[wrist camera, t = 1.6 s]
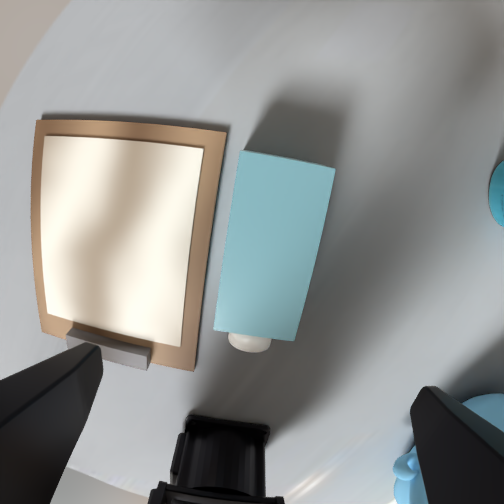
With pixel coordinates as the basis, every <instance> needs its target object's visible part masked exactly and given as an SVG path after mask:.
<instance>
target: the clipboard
mask: <svg viewBox="0 0 504 504" xmlns="http://www.w3.org/2000/svg"><path fill="white" fill-rule="evenodd" d="M226 137H227V133H225V132H218V131H211V130H204V129H196V128H187V127H179V126H169V125H159V124H147V123H134V122H119V121H98V120H36V128H35V137H34V147H33V159H32V177H31V238H32V256H33V268H34V279H35V288H36V296H37V304H38V311H39V317H40V323H41V329H42V332H44V333H47V334H50V335H53V336H56V337H59V338H62V339H65V340H67V347H68V349H70V348H73V347H75V346H77V345H79V344H81V343H84V342H90V343H94V344H97V345H99V346H100V348H101V353H102V359H104V360H107V361H111V362H114V363H118V364H122V365H126V366H130V367H134V368H138V369H142V370H146V371H147V369H148V367H149V364H150V363H154V364H158V365H163V366H168V367H172V368H177V369H182V370H187V371H193V372H194V369H195V360H196V351H197V341H198V332H199V324H200V315H201V307H202V298H203V290H204V282H205V275H206V267H207V260H208V252H209V245H210V238H211V231H212V224H213V217H214V211H215V204H216V197H217V191H218V185H219V178H220V172H221V166H222V160H223V154H224V148H225V142H226Z"/></svg>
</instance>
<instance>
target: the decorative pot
mask: <svg viewBox="0 0 504 504" xmlns="http://www.w3.org/2000/svg"><path fill="white" fill-rule="evenodd" d="M461 404H463V405H464V406H466V407H467V408H469V409H470V410H472V411H473V412H475V413H476V414H478V415H479V416H481V417H482V418H484V419H485V420H487V421H488V422H490V423H491V424H493V425H494V426H496V427H497V428H499V429H500V430H502V431H503V432H504V394H500V393H495V394H486V395H481V396H476V397H474V398H471V399H469V400H467V401H465V402H463V403H461ZM393 472H394V474H395V475H396V476H397V478H396V481H395V485H394V496H395V499H396V501H397V503H398V504H428V500H427V496H426V491H425V487H424V482H423V478H422V474H421V470H420V466H419V462H418V457H417V452H416V446H414V447H413V448H412V450H411V451H410V452H409V453H407V454H405V455H403V456H401V457H399V458H398V459H397V460H396V461H395V464H394V466H393Z"/></svg>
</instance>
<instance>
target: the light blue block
mask: <svg viewBox="0 0 504 504" xmlns="http://www.w3.org/2000/svg"><path fill="white" fill-rule="evenodd" d="M335 170H336V169H334V168H331V167H328V166H325V165H321V164H318V163H313V162H308V161H304V160H299V159H293V158H288V157H283V156H278V155H272V154H266V153H261V152H255V151H249V150H241V151H240V155H239V161H238V167H237V173H236V179H235V185H234V192H233V198H232V204H231V211H230V217H229V223H228V230H227V237H226V243H225V250H224V257H223V263H222V270H221V277H220V284H219V291H218V299H217V306H216V313H215V321H214V328H213V330H217V331H223V332H229V335H228V339H229V342H230V343H231V344H232V345H233V346H234V347H235V348H237V349H239V350H242V351H245V352H250V353H258V352H263V351H265V350H267V349H268V348H269V347H270V344H271V340H272V339H278V340H286V341H294V340H295V337H296V333H297V329H298V326H299V322H300V319H301V315H302V311H303V307H304V304H305V300H306V296H307V292H308V288H309V284H310V280H311V277H312V273H313V269H314V264H315V260H316V256H317V252H318V248H319V244H320V239H321V235H322V231H323V226H324V222H325V217H326V213H327V208H328V204H329V199H330V194H331V190H332V185H333V180H334V175H335Z"/></svg>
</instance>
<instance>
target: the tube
mask: <svg viewBox="0 0 504 504" xmlns="http://www.w3.org/2000/svg"><path fill="white" fill-rule="evenodd" d="M489 206H490V209H491V212H492V215H493V217H494V218H495V220H496V221H497V223H498V224H500V225H501V226H503V227H504V161H502V162H501V163H500V164H499V165H498V166H497V168H496V169H495V171H494V173H493V175H492V178H491V182H490V188H489Z"/></svg>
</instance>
